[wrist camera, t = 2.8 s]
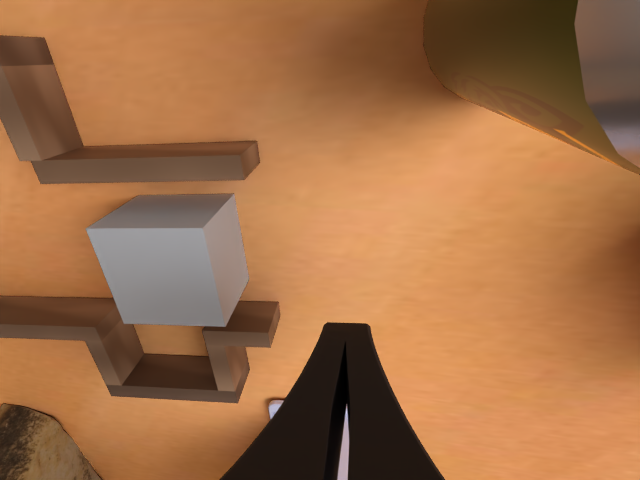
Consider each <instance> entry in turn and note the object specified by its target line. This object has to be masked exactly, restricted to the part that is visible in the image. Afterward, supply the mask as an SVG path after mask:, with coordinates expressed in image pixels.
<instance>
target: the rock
mask: <svg viewBox="0 0 640 480" xmlns="http://www.w3.org/2000/svg"><path fill="white" fill-rule="evenodd" d="M0 480H101V478H100V477H99V476H98V475H97V474H96V472H95V471H94V470H93V468H92V466H91V464H90V463H89V462H88V460H87V459H85V457H84V456H83V454H82V453H81V452H80V450H79V447H78V446H77V445H76V444H75V442H74V441H73V439H72V438H71V437H70V436H69V435H68V434H67V433H66V432H65V431H64V430H63V429H62V426H61V425H60V424H59V423H58V422H57V421H56V420H55V419H54V418H52V417H51V416H47V415H45V414H43V413H40V412H38V411H34V410H32V409H29V408H26V407H23V406H17V405H8V404H5V403H4V404H2V405H1V407H0Z"/></svg>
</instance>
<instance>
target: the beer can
mask: <svg viewBox="0 0 640 480" xmlns="http://www.w3.org/2000/svg"><path fill="white" fill-rule="evenodd" d="M424 49H425V52H426V55H427V58H428V62H429V65H430V68H431V70H432V71H433V72H434V74H435V75H436V76H437V78H438V79H439V81H440V82H441V83H442V85H443V86H444V87H445V88H447V89H449V90H450V91H452V92H453V93H455V94H456V95H458V96H460V97H461V98H463V99H465V100H468V101H470V102H472V103H475V104H477V105H479V106H482V107H484V108H486V109H489V110H491V111H493V112H496V113H498V114H500V115H502V116H505V117H507V118H509V119H512V120H514V121H516V122H519V123H521V124H523V125H526V126H528V127H530V128H533V129H535V130H537V131H540V132H542V133H544V134H546V135H549V136H551V137H553V138H556V139H558V140H560V141H563V142H565V143H567V144H570V145H572V146H574V147H577V148H579V149H581V150H584V151H586V152H588V153H591V154H593V155H595V156H597V157H600V158H602V159H604V160H607V161H609V162H611V163H614V164H616V165H618V166H621V167H623V168H625V169H628V170H630V171H632V172H635V173H637V174H639V175H640V0H428V4H427V8H426V11H425V15H424Z"/></svg>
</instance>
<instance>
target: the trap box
mask: <svg viewBox="0 0 640 480" xmlns="http://www.w3.org/2000/svg"><path fill="white" fill-rule="evenodd" d="M0 118H1V120H2V123H3V125H4V127H5V129H6V132H7V134H8V136H9V138H10V140H11V143H12V145H13V147H14V149H15V151H16V154H17V156H18V158H19V160H20V161H31V163H32V165H33V167H34V170H35V172H36V174H37V176H38V179H39V181H40V183H41V184H61V183H114V182H166V181H219V180H245V179H246V177H247V176H248V175H249V174H250V173H251V172H252V171H253V170H254V169H255V168H256V167H257V166H258V165H259V163H260V160H259V152H258V145H257V141H241V142H210V143H179V144H147V145H116V146H85V147H83V144H82V141H81V138H80V135H79V133H78V130H77V127H76V124H75V122H74V119H73V116H72V113H71V111H70V108H69V105H68V102H67V99H66V97H65V94H64V91H63V88H62V86H61V83H60V80H59V77H58V75H57V72H56V69H55V66H54V63H53V61H52V58H51V55H50V52H49V50H48V47H47V44H46V41H45V39H44V38H38V37H19V36H0ZM279 319H280V310H279V302H250V301H238V303H237V305H236V307H235V309H234V311H233V313H232V315H231V317H230V319H229V321H228V323H227V325H226V327H217V326H204V328H203V330H202V332H203V336H204V340H205V344H206V347H207V351H208V355H209V357H205V356H181V355H157V354H144V352H143V349H142V347H141V344H140V342H139V339H138V336H137V334H136V331H135V329H134V326H133V324H124V323H123V320H122V318H121V315H120V313H119V310H118V308H117V305H116V303H115V300H114V298H69V297H23V296H0V338H26V339H53V340H80V341H85V342H86V344H87V346H88V348H89V351H90V353H91V355H92V357H93V359H94V361H95V363H96V365H97V367H98V369H99V371H100V373H101V375H102V378H103V380H104V382H105V384H106V386H107V388H108V390H109V392H110V394H111V396H119V397H137V398H154V399H172V400H190V401H207V402H225V403H238V401H239V399H240V396H241V393H242V390H243V387H244V384H245V382H246V379H247V376H248V373H249V370H250V368H249V363H248V358H247V353H246V348H245V347H267V348H271V345H272V341H273V338H274V335H275V332H276V328H277V325H278V322H279Z"/></svg>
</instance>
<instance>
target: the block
mask: <svg viewBox="0 0 640 480" xmlns="http://www.w3.org/2000/svg"><path fill="white" fill-rule="evenodd" d="M86 231H87V233H88V236H89V238H90V241H91V243H92V246H93V248H94V251H95V253H96V256H97V258H98V261H99V263H100V266H101V268H102V271H103V273H104V275H105V278H106V280H107V283H108V285H109V288H110V290H111V293H112V295H113V298H114V300H115V303H116V305H117V308H118V310H119V313H120V315H121V318H122V320H123V323H124V324H151V325H184V326H217V327H226V325H227V323H228V321H229V319H230V317H231V315H232V313H233V311H234V309H235V307H236V305H237V303H238V301H239V299H240V297H241V295H242V293H243V291H244V289H245V287H246V285H247V283H248V281H249V275H248V269H247V263H246V258H245V252H244V246H243V241H242V235H241V229H240V224H239V218H238V212H237V207H236V201H235V195H234V194H178V195H138V196H136V197H135V198H133V199H132V200H130V201H128V202H127V203H125V204H124V205H122V206H120V207H119V208H117V209H116V210H114V211H113V212H111V213H109V214H108V215H106V216H105V217H103V218H102V219H100V220H98V221H97V222H95V223H94V224H92V225H90V226H89V227H87V228H86Z"/></svg>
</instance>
